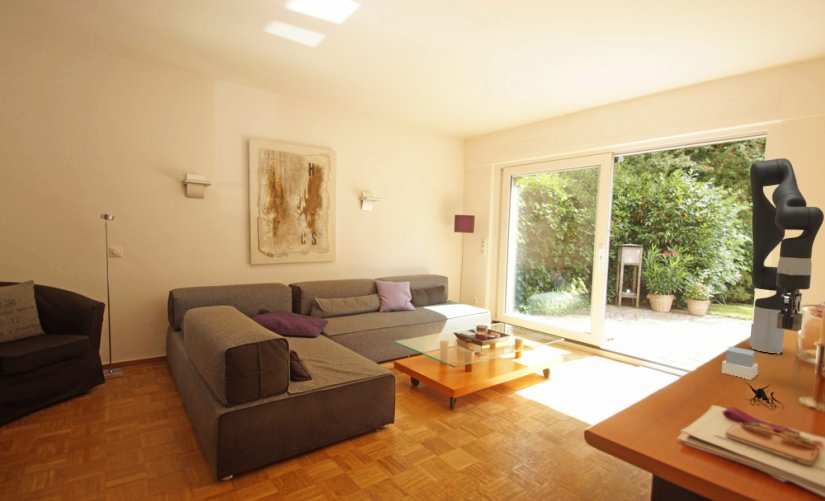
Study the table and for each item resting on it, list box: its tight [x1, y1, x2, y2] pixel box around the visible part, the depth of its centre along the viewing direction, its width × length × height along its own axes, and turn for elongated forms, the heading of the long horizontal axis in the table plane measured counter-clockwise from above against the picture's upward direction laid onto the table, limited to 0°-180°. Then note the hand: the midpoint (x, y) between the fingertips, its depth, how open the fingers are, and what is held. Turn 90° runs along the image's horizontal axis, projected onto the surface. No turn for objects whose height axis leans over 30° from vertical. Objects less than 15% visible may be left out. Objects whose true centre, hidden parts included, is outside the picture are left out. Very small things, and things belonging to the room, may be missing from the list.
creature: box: [744, 382, 785, 410], centre depth 108 cm, size 8×5×8 cm
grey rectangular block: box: [725, 346, 756, 368], centre depth 131 cm, size 6×6×4 cm
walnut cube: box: [777, 311, 803, 333], centre depth 123 cm, size 5×5×5 cm
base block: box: [721, 359, 759, 381], centre depth 131 cm, size 8×8×4 cm
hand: (788, 327), depth 123 cm, fingers closed on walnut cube, 4 cm apart
